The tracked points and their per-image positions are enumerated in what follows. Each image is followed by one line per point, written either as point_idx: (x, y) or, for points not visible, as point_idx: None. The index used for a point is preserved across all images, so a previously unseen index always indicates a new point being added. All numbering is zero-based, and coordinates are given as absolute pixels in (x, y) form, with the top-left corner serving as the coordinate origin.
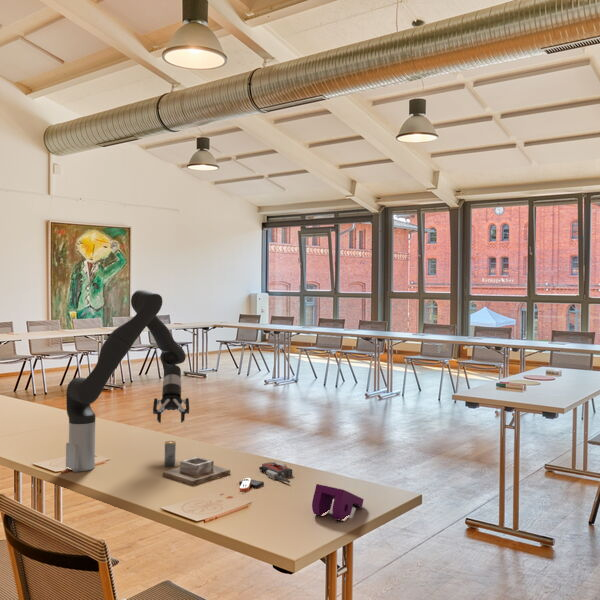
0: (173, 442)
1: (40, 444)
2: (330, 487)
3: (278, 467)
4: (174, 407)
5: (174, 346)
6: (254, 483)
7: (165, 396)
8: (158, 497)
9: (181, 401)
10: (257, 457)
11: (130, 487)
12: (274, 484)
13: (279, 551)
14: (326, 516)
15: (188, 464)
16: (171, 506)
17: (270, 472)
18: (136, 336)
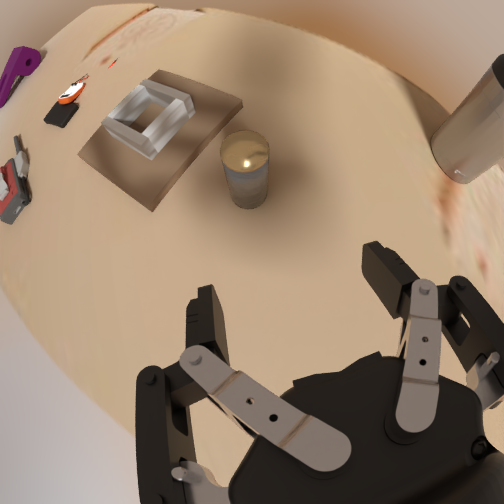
0: (228, 146)
1: None
2: (18, 47)
3: (4, 179)
4: (301, 379)
5: None
6: (57, 106)
7: (466, 459)
8: (217, 29)
9: (232, 477)
10: (30, 321)
11: (286, 50)
12: (32, 131)
13: (96, 8)
14: None
15: (165, 87)
16: (190, 17)
17: (21, 158)
18: None
